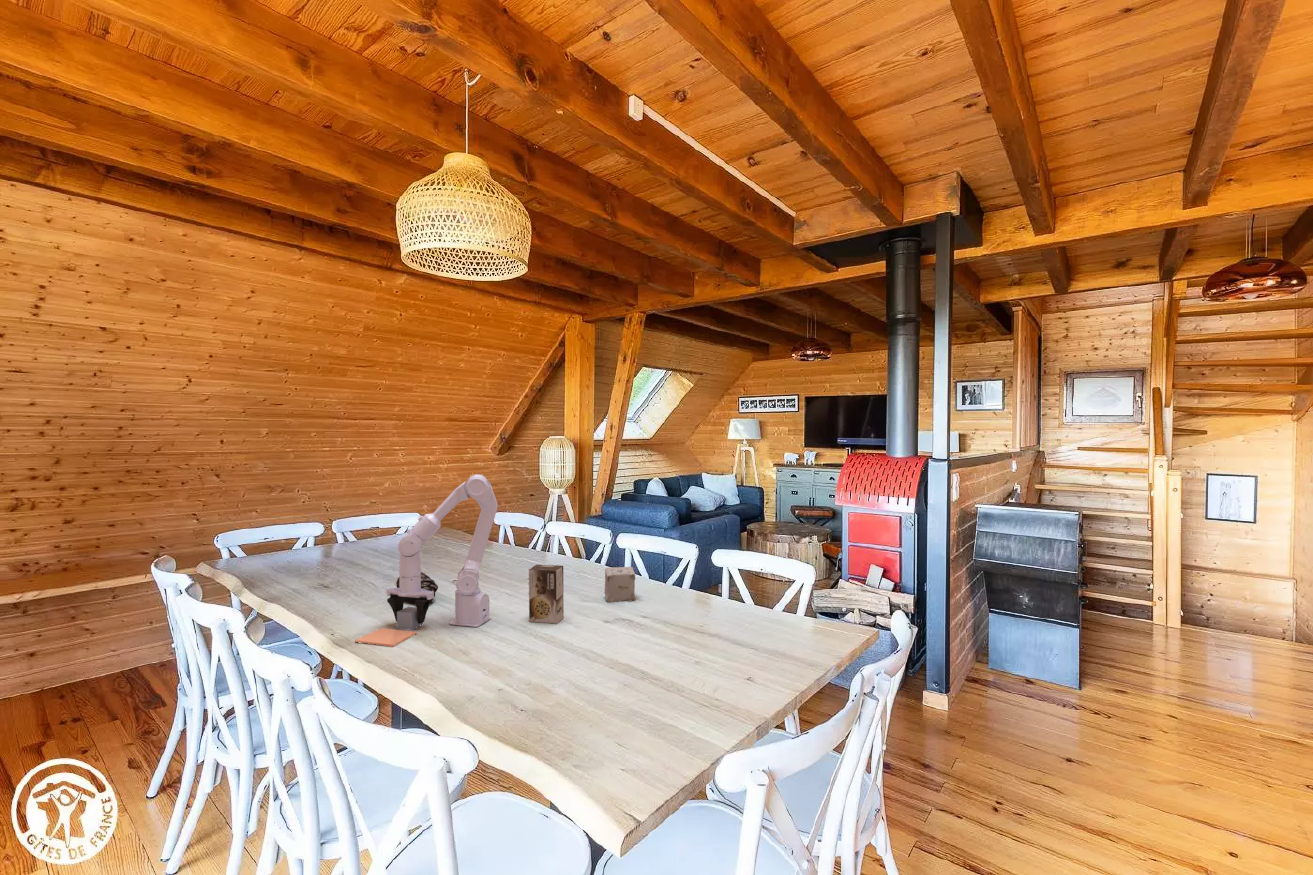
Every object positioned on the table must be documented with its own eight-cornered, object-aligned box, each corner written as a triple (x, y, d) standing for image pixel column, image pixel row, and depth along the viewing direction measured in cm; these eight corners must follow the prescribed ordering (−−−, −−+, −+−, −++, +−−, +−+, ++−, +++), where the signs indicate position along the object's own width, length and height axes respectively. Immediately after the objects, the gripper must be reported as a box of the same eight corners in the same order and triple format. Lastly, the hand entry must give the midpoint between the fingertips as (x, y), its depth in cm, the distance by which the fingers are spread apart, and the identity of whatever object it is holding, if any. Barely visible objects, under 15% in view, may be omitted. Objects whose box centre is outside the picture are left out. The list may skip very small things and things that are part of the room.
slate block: (422, 624, 173) (422, 607, 173) (412, 630, 168) (412, 613, 168) (408, 623, 174) (408, 606, 174) (397, 628, 170) (397, 611, 169)
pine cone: (422, 608, 188) (422, 577, 188) (389, 599, 198) (389, 570, 197) (449, 600, 197) (449, 571, 197) (417, 592, 206) (417, 564, 206)
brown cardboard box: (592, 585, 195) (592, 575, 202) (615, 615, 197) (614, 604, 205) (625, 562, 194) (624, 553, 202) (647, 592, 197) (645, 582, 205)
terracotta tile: (417, 634, 165) (417, 631, 165) (393, 647, 155) (393, 644, 155) (380, 630, 168) (380, 628, 168) (354, 642, 158) (354, 640, 158)
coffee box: (564, 617, 180) (564, 565, 180) (556, 624, 174) (556, 570, 174) (536, 615, 182) (536, 563, 182) (528, 622, 176) (528, 568, 176)
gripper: (379, 577, 169) (379, 623, 169) (423, 580, 165) (423, 628, 166) (395, 571, 176) (395, 616, 176) (438, 574, 172) (438, 620, 173)
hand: (410, 621), depth 171 cm, fingers open, 7 cm apart
